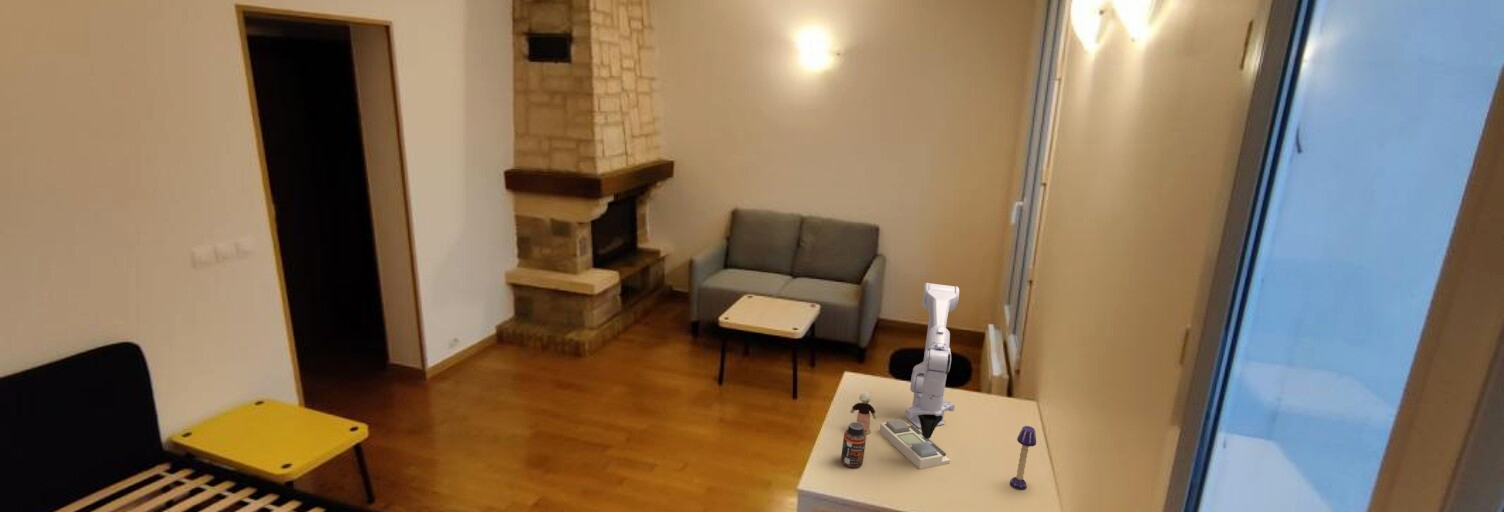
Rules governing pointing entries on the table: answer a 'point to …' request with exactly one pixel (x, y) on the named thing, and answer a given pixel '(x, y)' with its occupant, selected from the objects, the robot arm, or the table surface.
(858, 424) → the supplement bottle
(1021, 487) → the toy lamp
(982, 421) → the table surface
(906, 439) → the sage key
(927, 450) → the slate key
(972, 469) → the table surface
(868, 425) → the grandmother figurine
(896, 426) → the grey key
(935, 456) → the keypad
